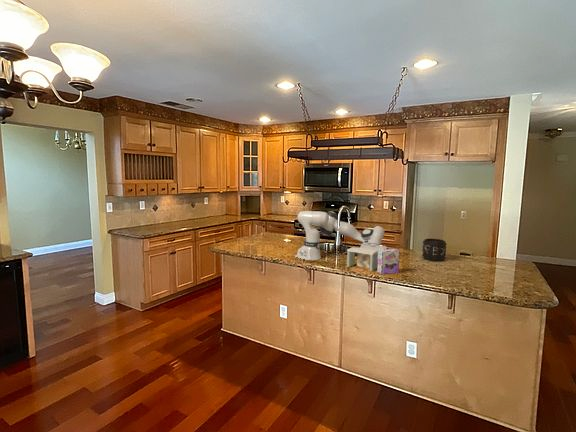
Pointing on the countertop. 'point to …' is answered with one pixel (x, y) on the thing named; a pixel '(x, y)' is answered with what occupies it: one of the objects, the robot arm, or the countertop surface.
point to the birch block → (363, 260)
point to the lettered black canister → (434, 250)
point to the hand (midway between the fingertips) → (369, 258)
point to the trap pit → (357, 269)
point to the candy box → (388, 261)
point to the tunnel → (372, 253)
